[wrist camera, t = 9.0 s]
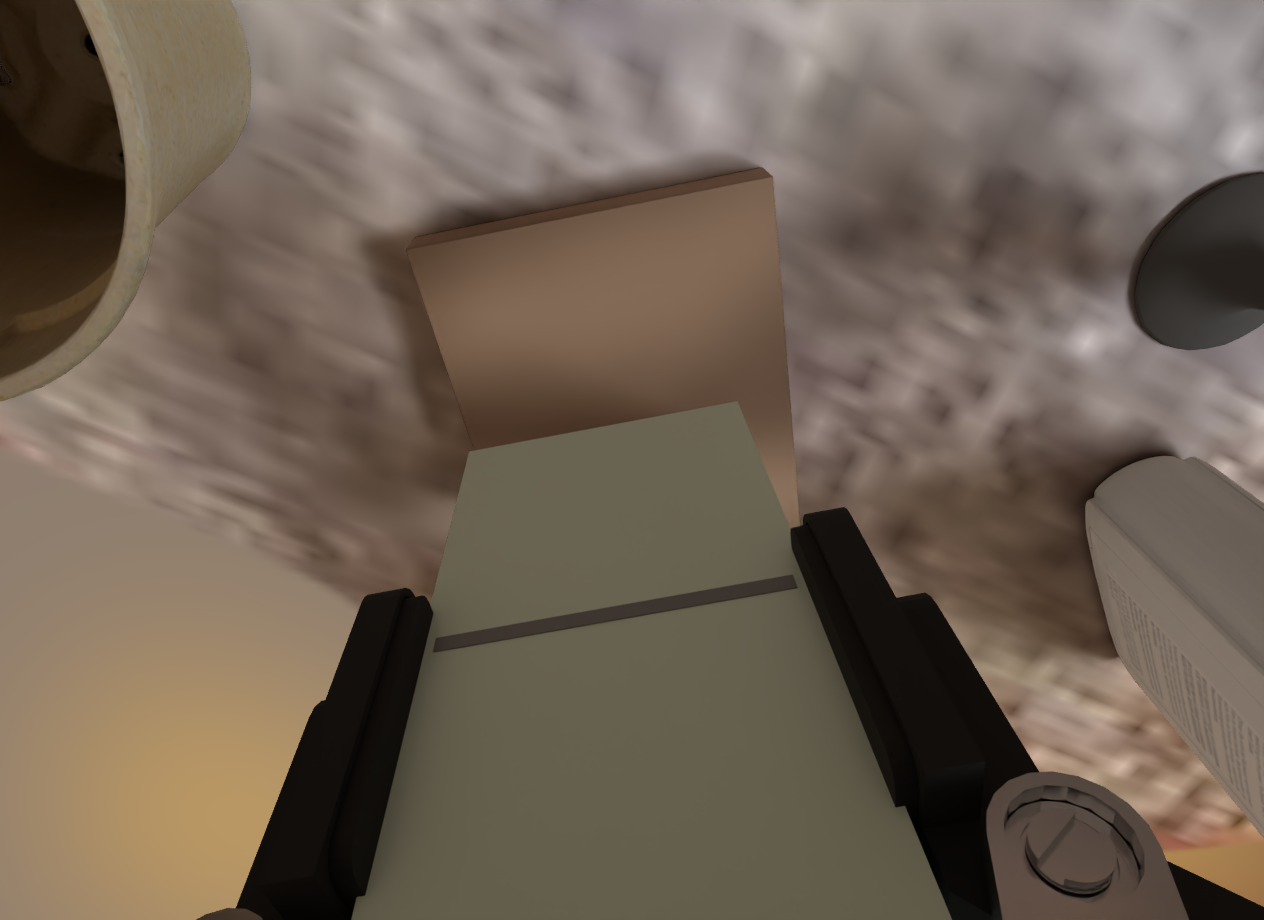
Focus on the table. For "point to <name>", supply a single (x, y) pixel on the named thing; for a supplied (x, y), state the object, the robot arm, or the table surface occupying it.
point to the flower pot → (101, 159)
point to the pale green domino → (635, 703)
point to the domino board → (618, 316)
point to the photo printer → (1189, 607)
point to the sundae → (1207, 269)
